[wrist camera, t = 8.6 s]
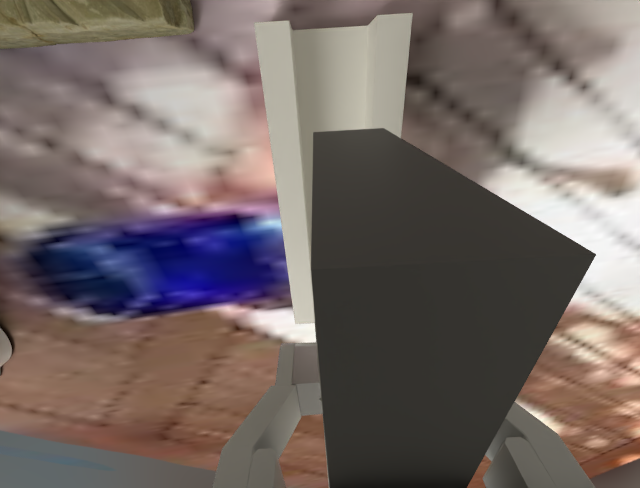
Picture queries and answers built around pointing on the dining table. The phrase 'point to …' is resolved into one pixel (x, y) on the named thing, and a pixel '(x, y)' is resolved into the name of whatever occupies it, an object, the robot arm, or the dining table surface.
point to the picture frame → (423, 310)
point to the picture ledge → (324, 112)
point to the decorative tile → (90, 21)
